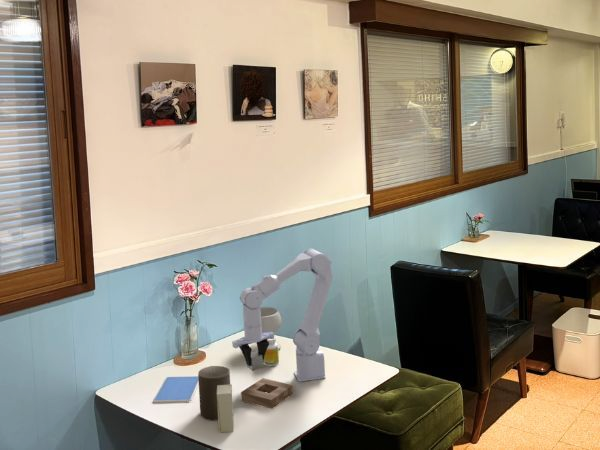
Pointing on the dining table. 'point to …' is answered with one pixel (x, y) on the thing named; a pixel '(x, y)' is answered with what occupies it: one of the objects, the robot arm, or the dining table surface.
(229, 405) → the skincare box
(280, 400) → the holder
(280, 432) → the dining table surface
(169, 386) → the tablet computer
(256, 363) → the peg
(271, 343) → the supplement bottle
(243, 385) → the dining table surface
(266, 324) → the chalice
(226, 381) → the pillar candle
